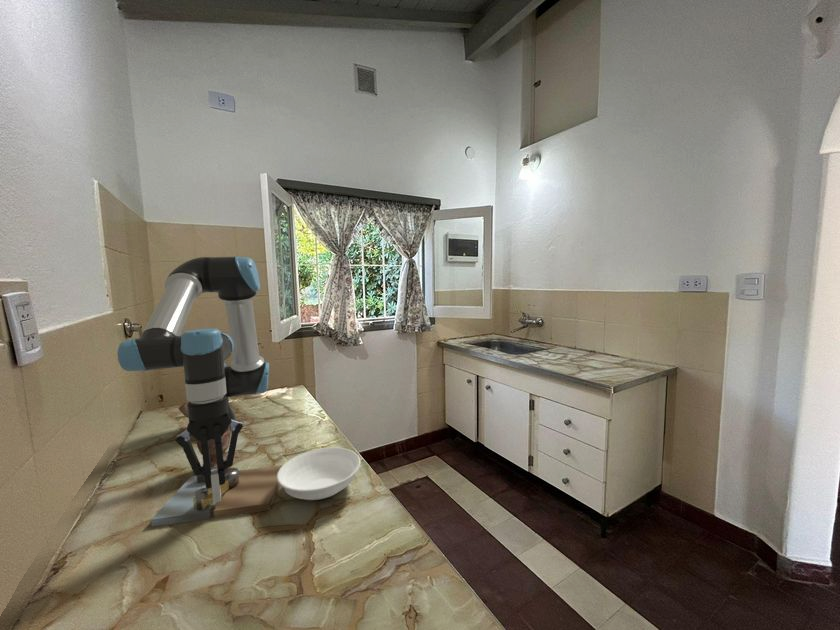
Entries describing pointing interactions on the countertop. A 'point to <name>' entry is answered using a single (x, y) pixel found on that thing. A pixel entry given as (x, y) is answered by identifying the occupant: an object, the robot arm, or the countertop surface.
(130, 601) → the countertop surface
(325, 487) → the bowl
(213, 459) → the mortar and pestle
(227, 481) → the swing bar
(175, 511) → the board
